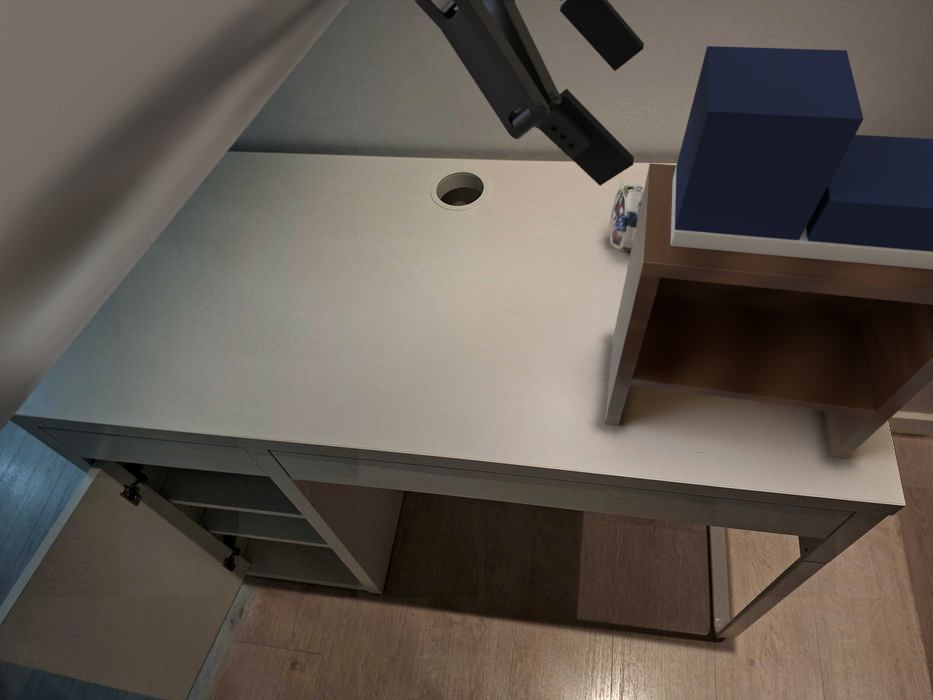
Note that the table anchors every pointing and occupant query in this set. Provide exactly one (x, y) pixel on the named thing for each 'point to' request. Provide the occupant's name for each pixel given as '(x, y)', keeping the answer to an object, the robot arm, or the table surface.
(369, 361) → the table surface
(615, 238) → the pencil case
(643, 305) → the brown box
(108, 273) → the robot arm
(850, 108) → the blue blocks on base
